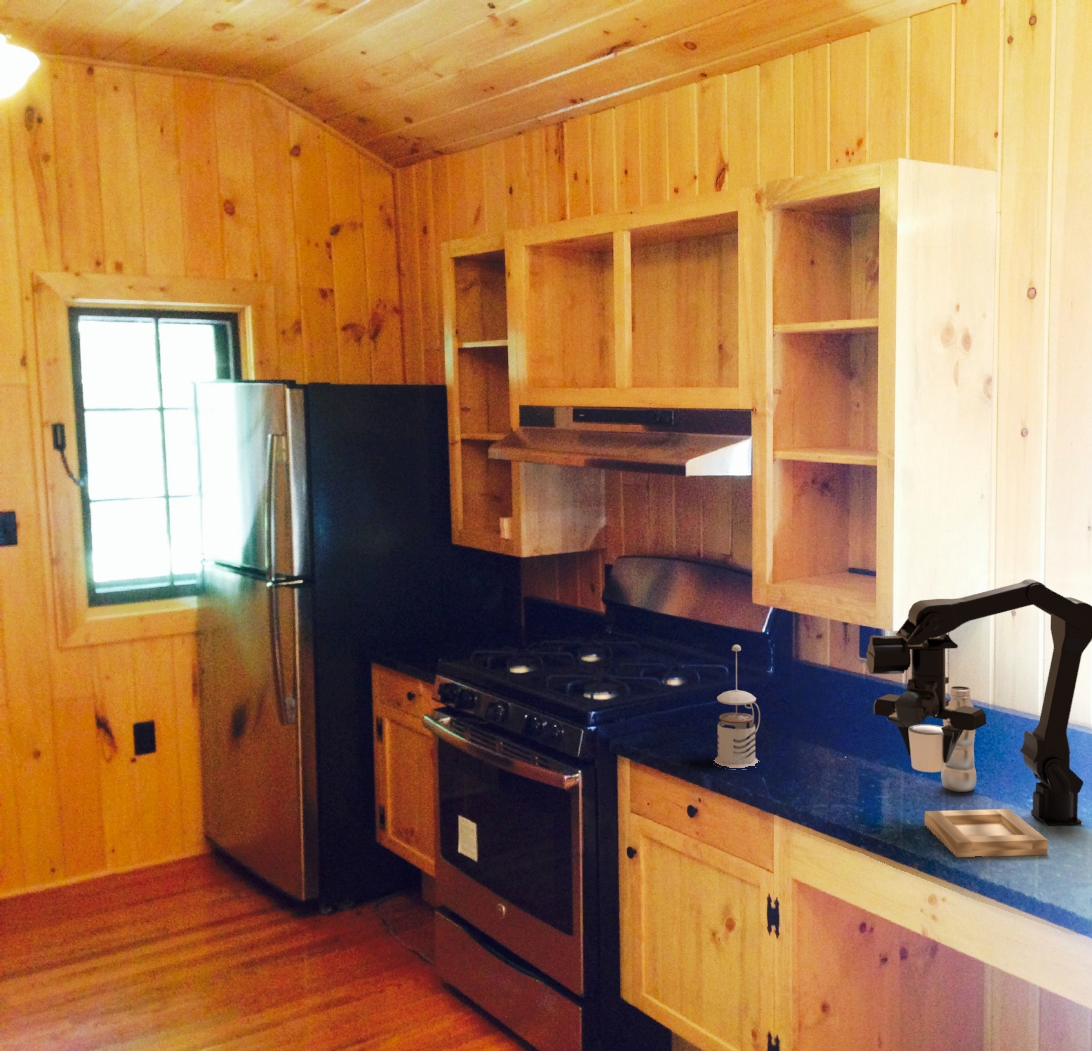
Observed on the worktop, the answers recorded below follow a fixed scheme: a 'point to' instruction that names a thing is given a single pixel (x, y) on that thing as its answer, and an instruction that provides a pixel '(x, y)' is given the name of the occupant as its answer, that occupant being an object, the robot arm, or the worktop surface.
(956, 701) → the plastic bottle
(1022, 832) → the holder tray
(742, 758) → the french press
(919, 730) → the white tapered cup
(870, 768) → the worktop surface
